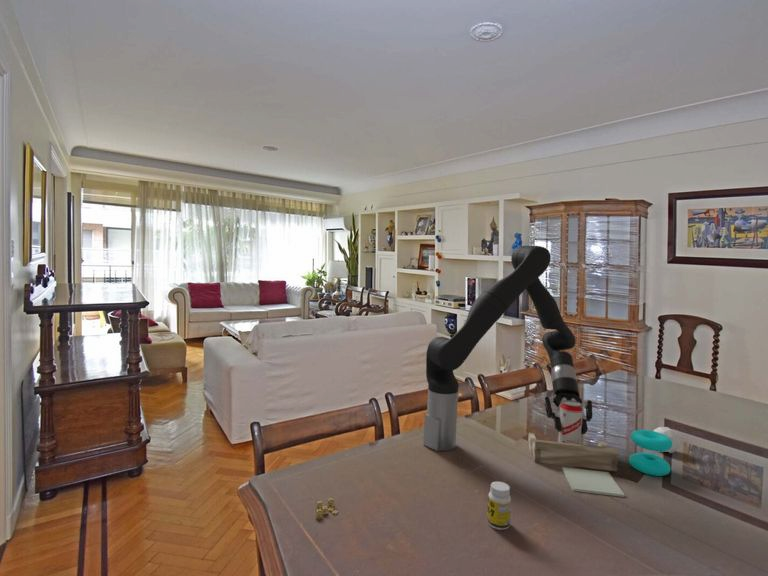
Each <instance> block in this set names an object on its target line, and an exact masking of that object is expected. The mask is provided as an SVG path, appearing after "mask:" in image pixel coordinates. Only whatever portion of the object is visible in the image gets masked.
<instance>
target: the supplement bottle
mask: <svg viewBox="0 0 768 576" xmlns="http://www.w3.org/2000/svg"><path fill="white" fill-rule="evenodd" d="M489 488H490V490H489V492H488V496H487V514H486V520H487V521H486V523H487V524H488V525H489V527H491V528H492V529H494V530H500V531H501V530H502V531H503V530H507V529H508V528H510V525H511V507H512V498H511V495H510V494H511V491H510V490H511V487H510V485H509V484H507V483H505V482H502V481H493V482H491V483H490V487H489Z"/></svg>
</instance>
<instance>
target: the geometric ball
mask: <svg viewBox="0 0 768 576" xmlns="http://www.w3.org/2000/svg"><path fill="white" fill-rule="evenodd" d="M652 431H655V432H658V433H661V434H664V435H666V436H667V437H669V438H670V439H671V441H672V447H671V448H670V449H669V450H667V451H662V452H661V453H663V452H669V453H668V454H673V453H675V452H676V451H678V449H679V448H680V446H681V440H680V436H679V435H678V433H677V432H676V431H675V430H674V429H672V428H670V427H668V426H658V427H657V428H655V429H653V430H652Z"/></svg>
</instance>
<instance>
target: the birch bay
mask: <svg viewBox="0 0 768 576" xmlns="http://www.w3.org/2000/svg"><path fill="white" fill-rule="evenodd" d="M535 435H536V434H535V432H528V437H527V446H528V448H529V451H530V454H531V457H532V460H533V461H534V463H540V464H550V465H557V466H558V465H559V466H564V467H566V466H568V467H573V468H575V467H576V468H586V469H594V470H600V471H612V472H618V463H619V449H618V448H617V447H610V446H609V445H608V444H607V443H606V441H605V440H604V439H597V445H593V444H592V445H591V444H582V443H581V444H573V443H563V442H558V441H551V440H542V439H537V438H536V436H535Z"/></svg>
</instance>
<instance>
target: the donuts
mask: <svg viewBox="0 0 768 576" xmlns="http://www.w3.org/2000/svg"><path fill="white" fill-rule="evenodd" d="M630 439H631V441H632V442H633V443H634V444H635V445H636V446H638V447H640V448H642V449H644V450H647V451H651V452H660V453H663V452H662V451H667V450H669V449H670V448H671V447H672V441H671V439H670V438H669V437H667V436H666V435H664V434H661V433H658V432H655V431H653V430H649V429H635V430H633V431H632V432H631V434H630ZM628 461H629V464H630V465H631V467H632V468H633V469H635V470H637V471H638V472H640V473H643V474H647V475H649V476H656V477H657V476H658V477H663V476H667V475H668V474H670V472H671V465H670V464H669V462H668V461H667V460H666V459H665V458H664V457H661V456H659V455H656V454H653V453H650V452H643V451H642V452H641V451H640V452H634V453H633V454H632V455H630V456H629V459H628Z"/></svg>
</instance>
